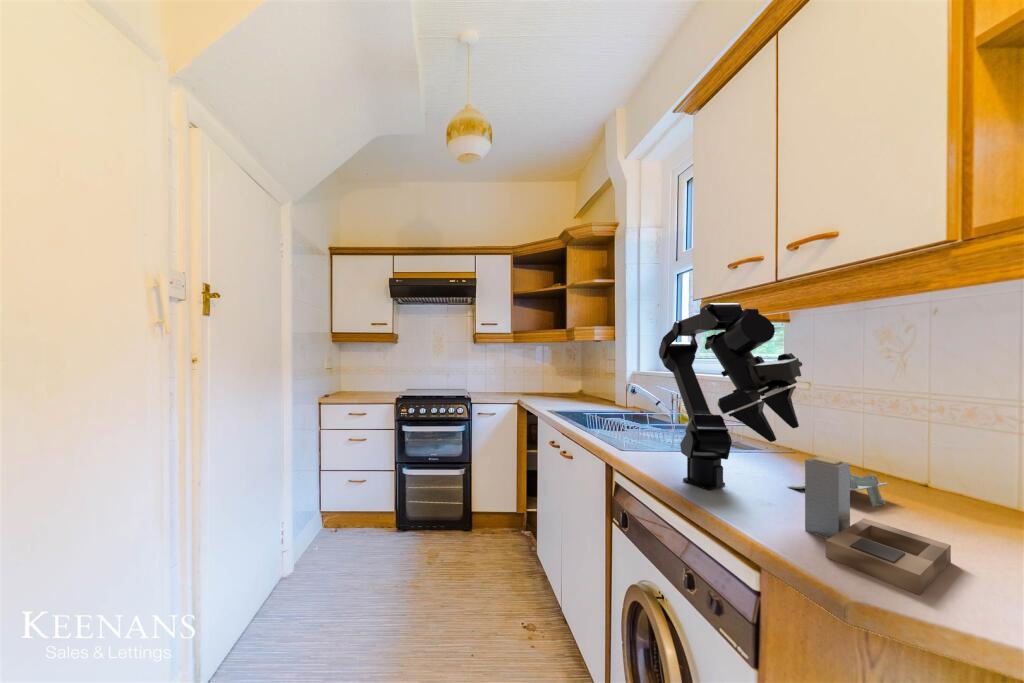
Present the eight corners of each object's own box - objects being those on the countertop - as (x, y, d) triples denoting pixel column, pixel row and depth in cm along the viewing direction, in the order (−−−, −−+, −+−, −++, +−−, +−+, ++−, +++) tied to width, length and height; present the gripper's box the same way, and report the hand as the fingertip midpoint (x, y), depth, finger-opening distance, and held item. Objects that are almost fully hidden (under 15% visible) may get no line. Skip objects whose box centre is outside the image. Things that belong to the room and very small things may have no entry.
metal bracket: (896, 472, 76) (853, 481, 71) (907, 503, 74) (864, 513, 69) (820, 471, 89) (779, 478, 83) (828, 497, 87) (786, 505, 82)
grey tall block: (805, 530, 62) (805, 458, 62) (816, 524, 64) (816, 454, 65) (838, 542, 58) (838, 465, 58) (850, 535, 61) (849, 461, 61)
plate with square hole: (825, 557, 54) (825, 538, 54) (863, 533, 61) (863, 517, 61) (919, 595, 46) (919, 573, 46) (950, 562, 53) (950, 543, 53)
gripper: (749, 347, 62) (809, 435, 56) (797, 333, 71) (852, 407, 66) (697, 374, 70) (744, 453, 65) (746, 358, 80) (791, 426, 74)
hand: (785, 434), depth 67 cm, fingers open, 9 cm apart
